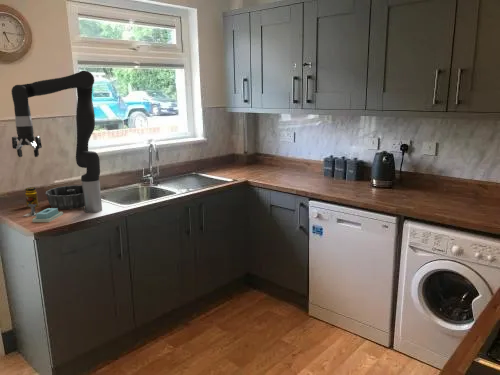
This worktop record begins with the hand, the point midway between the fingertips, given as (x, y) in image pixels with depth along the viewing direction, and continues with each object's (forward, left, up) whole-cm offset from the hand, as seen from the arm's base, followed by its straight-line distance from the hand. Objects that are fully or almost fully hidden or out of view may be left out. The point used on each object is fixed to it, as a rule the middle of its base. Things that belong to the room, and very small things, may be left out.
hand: (28, 156), depth 214 cm
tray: (+6, +10, -32) cm, 34 cm away
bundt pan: (-21, +10, -32) cm, 40 cm away
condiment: (-17, -12, -32) cm, 39 cm away
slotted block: (+6, +10, -31) cm, 33 cm away
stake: (-1, -2, -32) cm, 32 cm away
